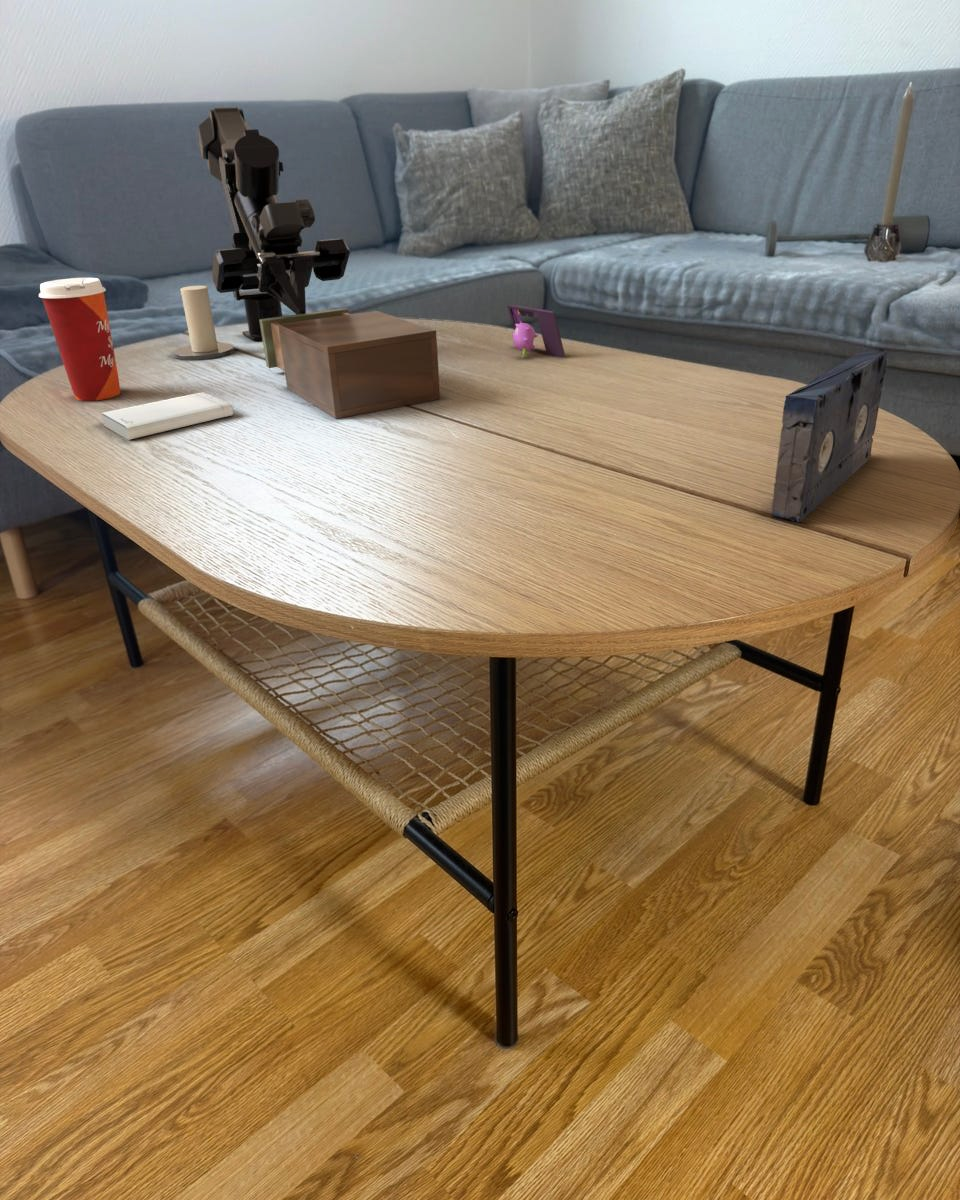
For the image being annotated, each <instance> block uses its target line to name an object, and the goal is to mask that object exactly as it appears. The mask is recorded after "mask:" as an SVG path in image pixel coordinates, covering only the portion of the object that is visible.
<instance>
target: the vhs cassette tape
mask: <svg viewBox="0 0 960 1200" xmlns="http://www.w3.org/2000/svg"><path fill="white" fill-rule="evenodd" d="M887 359H888V351H887V352H886V351H879V350H867V349H861V350H860V351H859V352H858V353H855V354H853V355H852V356H850V357H848V358H847V359H845V360H843V361H842V362H840V363H839V364H837V365H835V366H833V367H831V368H829V369H827V370H826V371H825V372H823V373H822V374H821V375H819V376H816V377H814V378H813V379H812V380H811V381H810V382H809V383H808V384H807V385H803V386H801V387H799V388H797V389H795V390H794V391H792V392H790V393H789V394H787V395H785V400H784V404H783V410H782V419H781V424H782V427H781V430H780V434H779V443H778V453H777V461H776V462H777V463H776V470H775V477H774V479H775V482H774V484H773V486H774V487H773V495H772V503H771V511H770V515H771V516H772V517H776V518H781V519H785V520H789V521H792V522H796V521H797V523H801V522H802V521H803V520H804V519H806V518H807V517H808V516H809V514H811V513H812V512H814V511H815V509H816V508H818V507H819V506H820V505H821V504H822V503H824V501H826V499H828V498H829V497H830V496H831V495H832V494H833V493H834V492H835V491H836V490H837V489H838V488H839V487H841V486H842V485H843V484H844V483H845V482H846V481H847V480H848V479H849V478H851V477H852V476H853V475H854V474H855V473H856V472H857V471H858V470H859V469H861V468H862V467H863V466H864V465H865V464H866V463H867V462H868V461H869V460H870V458H871V455H872V447H873V442H874V439H873V438H874V437H873V436H874V435H875V431H876V426H877V420H878V414H879V408H880V402H881V397H882V388H884V386H883V385H884V380H885V376H886V374H887V362H888V360H887Z"/></svg>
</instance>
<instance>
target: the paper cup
mask: <svg viewBox="0 0 960 1200" xmlns="http://www.w3.org/2000/svg"><path fill="white" fill-rule="evenodd" d="M39 289H40V291H39V293H38V298H41V299H42V301H43V306H44V308H45V311H46V314H47V317H48V320H49V324H50V327H51V330H52V333H53V336H54V340H55V343H56V345H57V348H58V351H59V354H60V357H61V360H62V363H63V367H64V370H65V373H66V375H67V378H68V383H69V385H70V387H71V390H72V393H73V396H74V398H75V400H77V401H79V402H80V401H82V402H93V401H94V402H95V401H96V402H97V401H102V400H108V399H112V398H114V397H117V396H119V395H120V394H121V385H120V379H119V373H118V372H119V371H118V366H117V361H116V355H115V349H114V343H113V337H112V331H111V326H110V320H109V316H108V315H109V314H108V309H107V304H106V303H107V302H106V297H105V292H106V291H107V289H106V288H105V287H104V286H103V284H102V282H101V280H100V278H97V277H71V278H62V279H61V278H60V279H54V280H49V281H45V282H42V283H40V285H39Z"/></svg>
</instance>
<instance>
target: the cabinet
mask: <svg viewBox="0 0 960 1200" xmlns="http://www.w3.org/2000/svg"><path fill="white" fill-rule="evenodd" d="M278 327H279V335H280V342H281V349H282V356H283V363H284V370H285V371H284V375H285V383H286V389H287V390H288V391H290V392H292V393H293V394H296V396H298V397H300V398H302V399H303V400H305V401H307V403H310V404H311V405H313V406H314V407H316V408H318V409H320V410H322V412H324V413H326V414H327V415H329V416H330V417H332V418H334V419H336V420H337V419H341V418H342V419H343V418H346V417H352V416H358V415H362V414H369V413H373V412H379V411H383V410H389V409H394V408H399V407H404V406H410V405H415V404H421V403H425V402H430V401H436V400H441V389H440V388H441V387H440V371H439V355H438V339H437V330H436V329H433V328H430V327H426V326H424V325H421V324H418V323H415V322H412V321H409V320H406V319H403V318H400V317H398V316H395V315H391V314H388V313H385V312H382V311H380V310H373V311H364V312H358V313H350V314H349V315H342V316H335V317H328V318H320V319H313V320H306V321H298V322H291V323H284V324H278Z"/></svg>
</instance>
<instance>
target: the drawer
mask: <svg viewBox="0 0 960 1200" xmlns="http://www.w3.org/2000/svg"><path fill="white" fill-rule="evenodd" d="M349 314H351V313H349V308H346V307H344V308H343V307H342V308H336V309H327V310H321V311H312V312H306V313H305V314H291V315H282V317H275V318H267V319H260V327H261V333H262V340H261V341H262V347H263V351H264V352H263V353H264V358H265V365H266V368H268V369H272V368H278V369H280V370H281V371H283V372H285V370H284V363H283V356H282V349H281V342H280V335H279V327H278V324H284V323H291V322H298V321H306V320H313V319H320V318H328V317H335V316H342V315H349Z"/></svg>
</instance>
